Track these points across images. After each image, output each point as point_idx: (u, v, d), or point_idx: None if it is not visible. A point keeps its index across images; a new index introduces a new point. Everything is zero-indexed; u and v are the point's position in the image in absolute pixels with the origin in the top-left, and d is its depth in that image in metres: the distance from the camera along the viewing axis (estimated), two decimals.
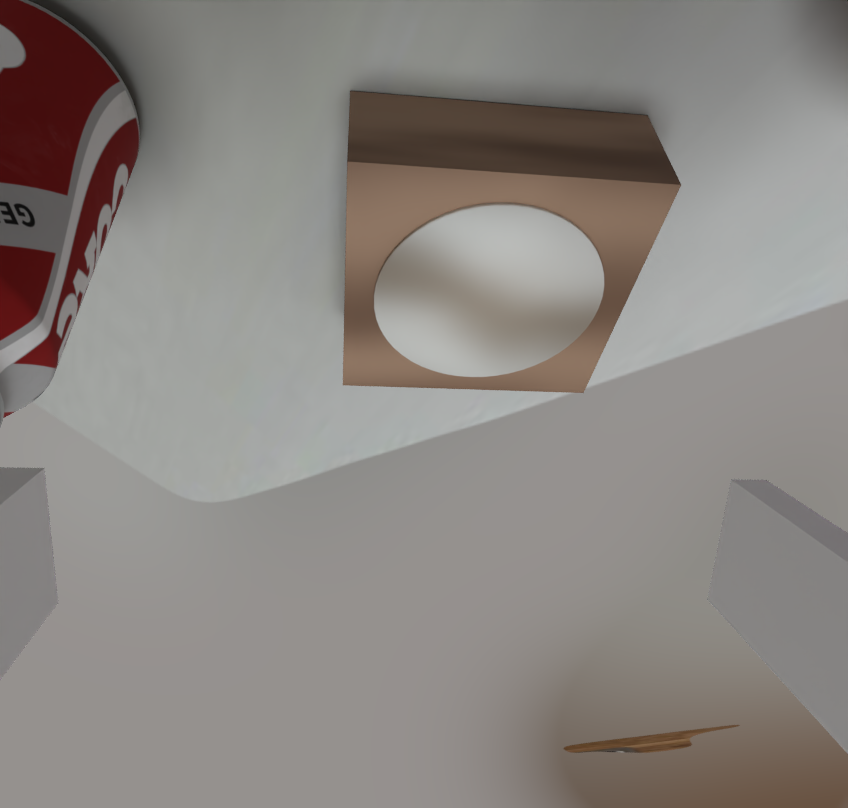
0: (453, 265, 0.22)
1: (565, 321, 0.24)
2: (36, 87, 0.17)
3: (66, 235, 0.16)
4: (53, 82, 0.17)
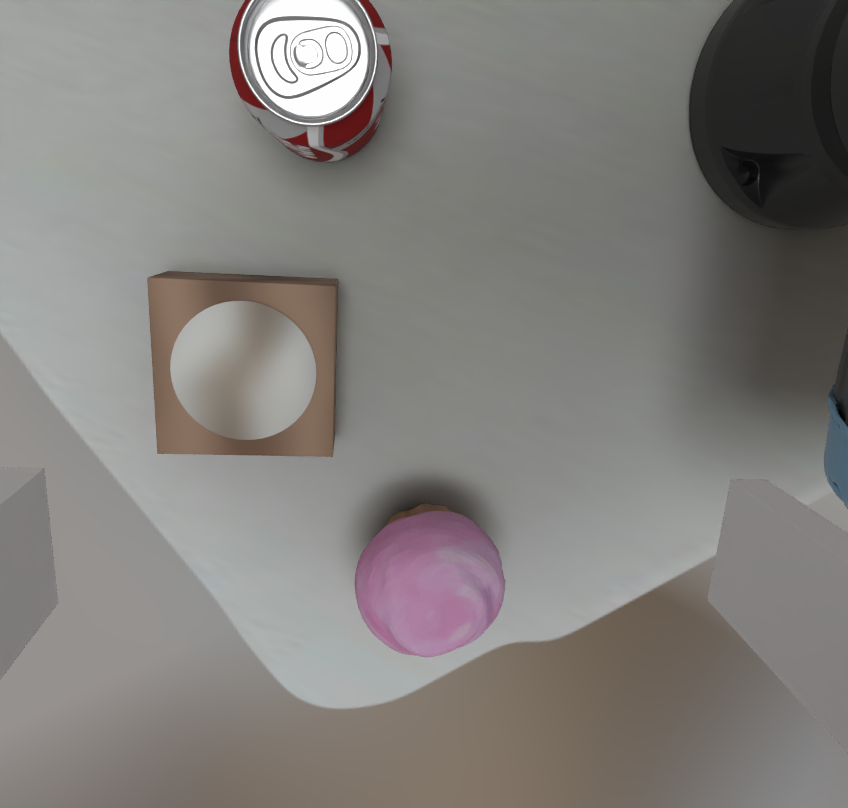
0: (272, 347, 0.37)
1: (232, 422, 0.38)
2: (368, 136, 0.35)
3: (330, 150, 0.31)
4: (365, 141, 0.35)
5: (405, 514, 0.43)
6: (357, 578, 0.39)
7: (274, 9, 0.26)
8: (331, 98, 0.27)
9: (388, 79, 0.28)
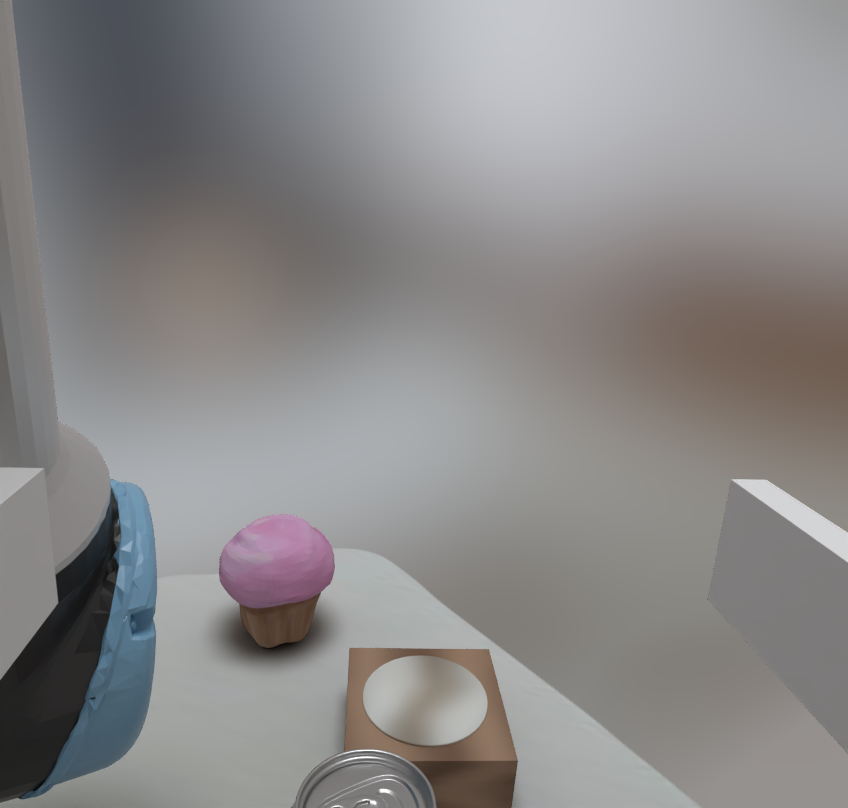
0: (401, 712, 0.41)
1: (432, 665, 0.46)
2: None
3: None
4: None
5: (289, 632, 0.52)
6: (332, 564, 0.52)
7: None
8: (343, 777, 0.27)
9: None
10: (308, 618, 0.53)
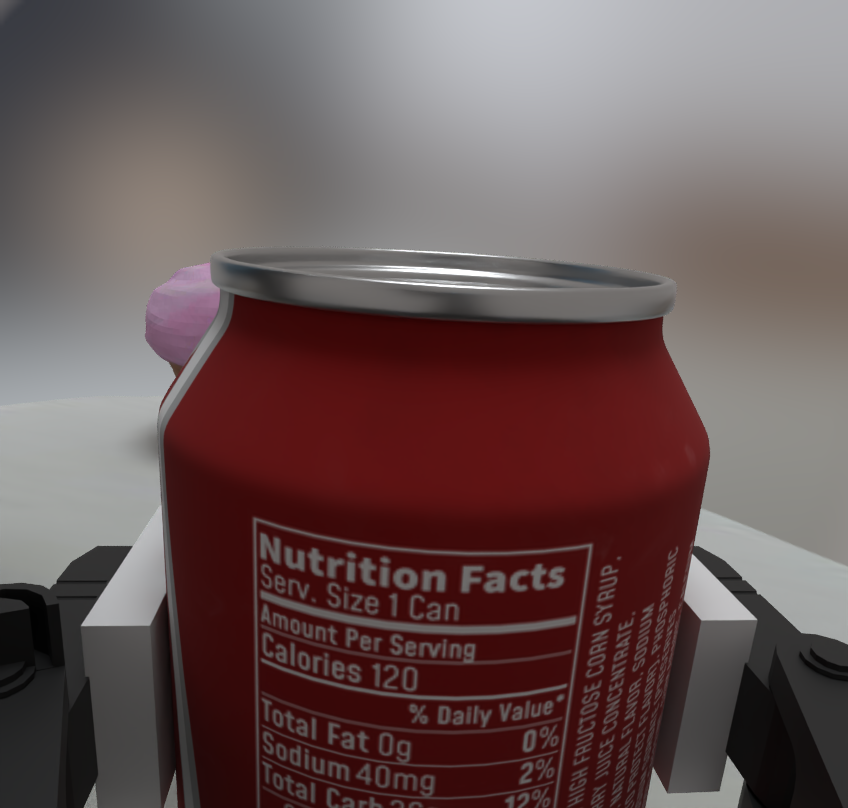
0: None
1: None
2: None
3: None
4: None
5: None
6: None
7: None
8: None
9: None
10: None
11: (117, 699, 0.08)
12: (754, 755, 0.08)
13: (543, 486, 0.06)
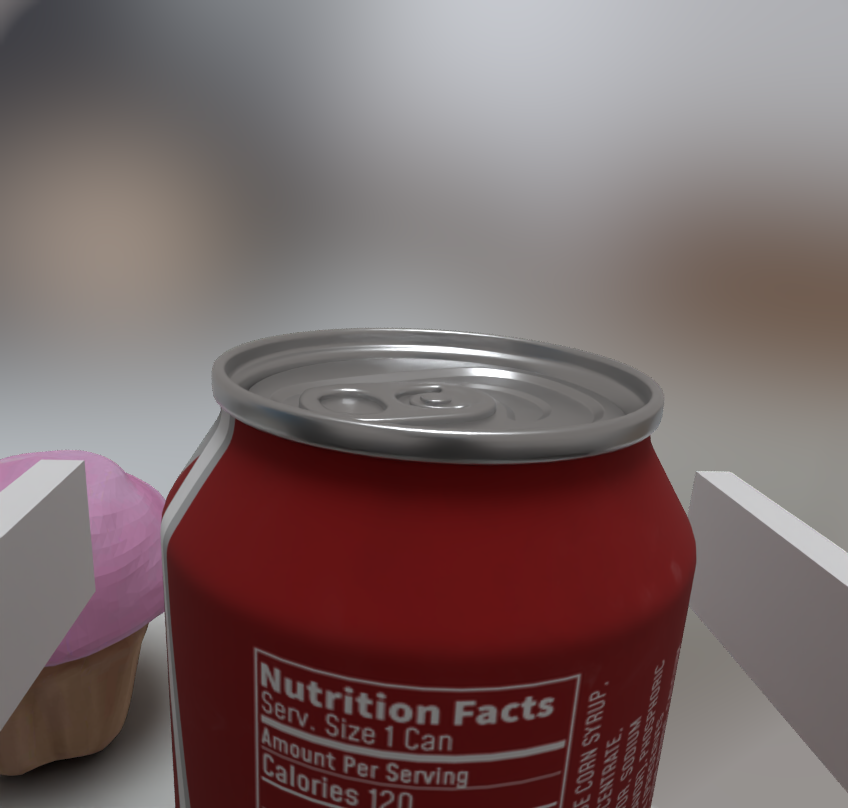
0: None
1: None
2: None
3: None
4: None
5: (60, 736, 0.21)
6: None
7: None
8: (362, 366, 0.10)
9: None
10: (115, 698, 0.21)
11: None
12: None
13: (534, 624, 0.06)
